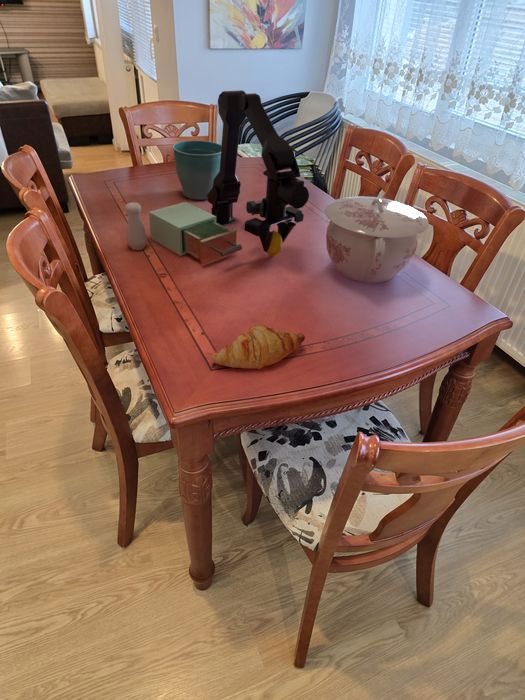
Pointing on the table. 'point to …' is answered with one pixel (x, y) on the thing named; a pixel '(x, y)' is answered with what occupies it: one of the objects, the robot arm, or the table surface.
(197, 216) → the pale green box
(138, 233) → the salt shaker
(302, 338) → the croissant
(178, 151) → the flower pot
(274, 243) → the lemon
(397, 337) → the table surface
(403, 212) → the chamber pot
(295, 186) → the robot arm
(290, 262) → the table surface
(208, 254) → the drawer
